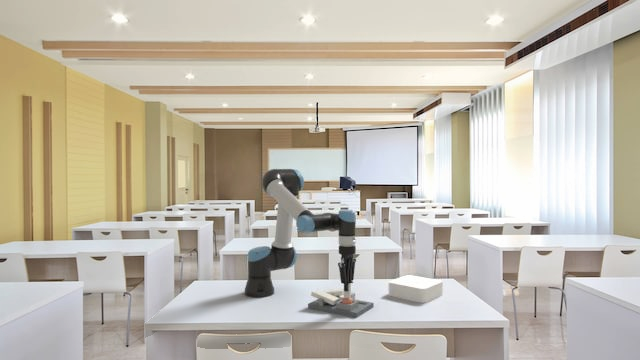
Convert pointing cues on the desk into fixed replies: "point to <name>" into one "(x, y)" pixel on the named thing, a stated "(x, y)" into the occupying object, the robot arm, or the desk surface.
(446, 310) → the desk surface
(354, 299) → the block
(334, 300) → the block
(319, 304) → the panel
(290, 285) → the desk surface
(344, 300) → the button
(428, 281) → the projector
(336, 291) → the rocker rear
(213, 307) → the desk surface
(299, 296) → the desk surface
